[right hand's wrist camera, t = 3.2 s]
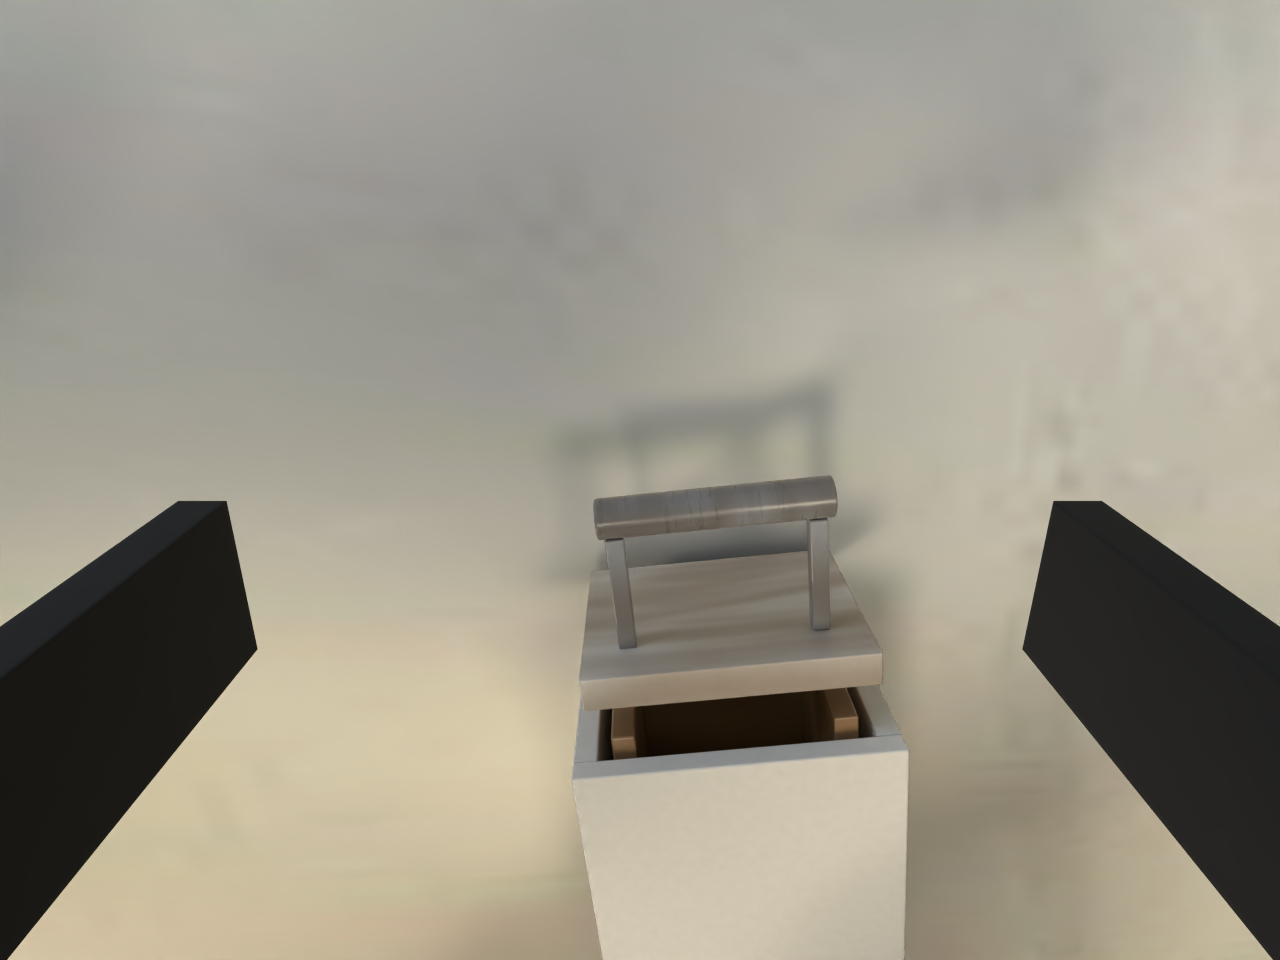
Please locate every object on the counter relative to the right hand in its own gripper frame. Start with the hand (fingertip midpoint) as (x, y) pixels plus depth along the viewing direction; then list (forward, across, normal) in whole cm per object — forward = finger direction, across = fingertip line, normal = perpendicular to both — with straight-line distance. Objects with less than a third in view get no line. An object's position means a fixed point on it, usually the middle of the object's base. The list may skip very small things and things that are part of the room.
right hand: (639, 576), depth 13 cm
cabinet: (+18, -4, +21) cm, 28 cm away
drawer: (+17, -3, +14) cm, 22 cm away
